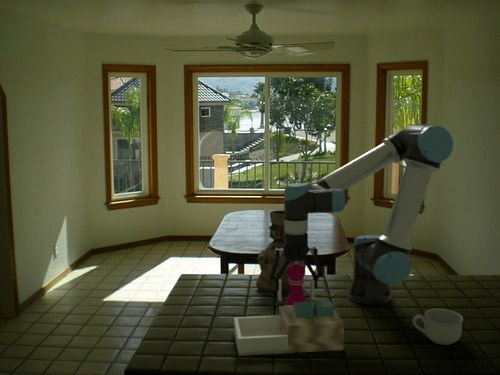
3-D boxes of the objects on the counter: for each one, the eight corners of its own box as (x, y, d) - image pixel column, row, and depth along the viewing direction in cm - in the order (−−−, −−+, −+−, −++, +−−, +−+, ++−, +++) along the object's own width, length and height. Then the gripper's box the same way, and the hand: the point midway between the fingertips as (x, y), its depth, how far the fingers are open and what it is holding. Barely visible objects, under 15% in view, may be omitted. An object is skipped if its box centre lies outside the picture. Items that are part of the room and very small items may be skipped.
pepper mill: (305, 323, 176) (306, 263, 173) (283, 322, 177) (283, 262, 174) (308, 315, 183) (308, 257, 180) (286, 314, 184) (286, 256, 181)
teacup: (461, 336, 165) (462, 310, 164) (462, 351, 155) (463, 323, 154) (413, 330, 169) (413, 305, 168) (411, 344, 159) (412, 318, 158)
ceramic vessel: (241, 288, 211) (240, 211, 207) (283, 277, 224) (283, 205, 220) (273, 301, 196) (272, 219, 192) (316, 289, 209) (316, 212, 205)
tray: (279, 330, 170) (279, 315, 170) (288, 353, 154) (287, 336, 154) (234, 332, 169) (233, 317, 168) (238, 355, 153) (238, 338, 152)
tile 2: (329, 309, 165) (329, 300, 165) (333, 316, 160) (333, 306, 160) (313, 310, 165) (313, 301, 164) (316, 316, 160) (316, 307, 159)
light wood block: (329, 327, 172) (329, 303, 171) (343, 349, 156) (343, 323, 155) (279, 330, 170) (279, 305, 169) (288, 353, 154) (287, 325, 153)
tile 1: (309, 310, 165) (309, 301, 164) (313, 317, 160) (313, 307, 159) (293, 311, 164) (293, 302, 164) (296, 318, 159) (296, 308, 159)
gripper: (327, 228, 181) (327, 293, 184) (259, 230, 178) (260, 296, 181) (333, 233, 173) (332, 301, 176) (262, 235, 171) (263, 304, 174)
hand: (296, 298), depth 179 cm, fingers open, 10 cm apart
